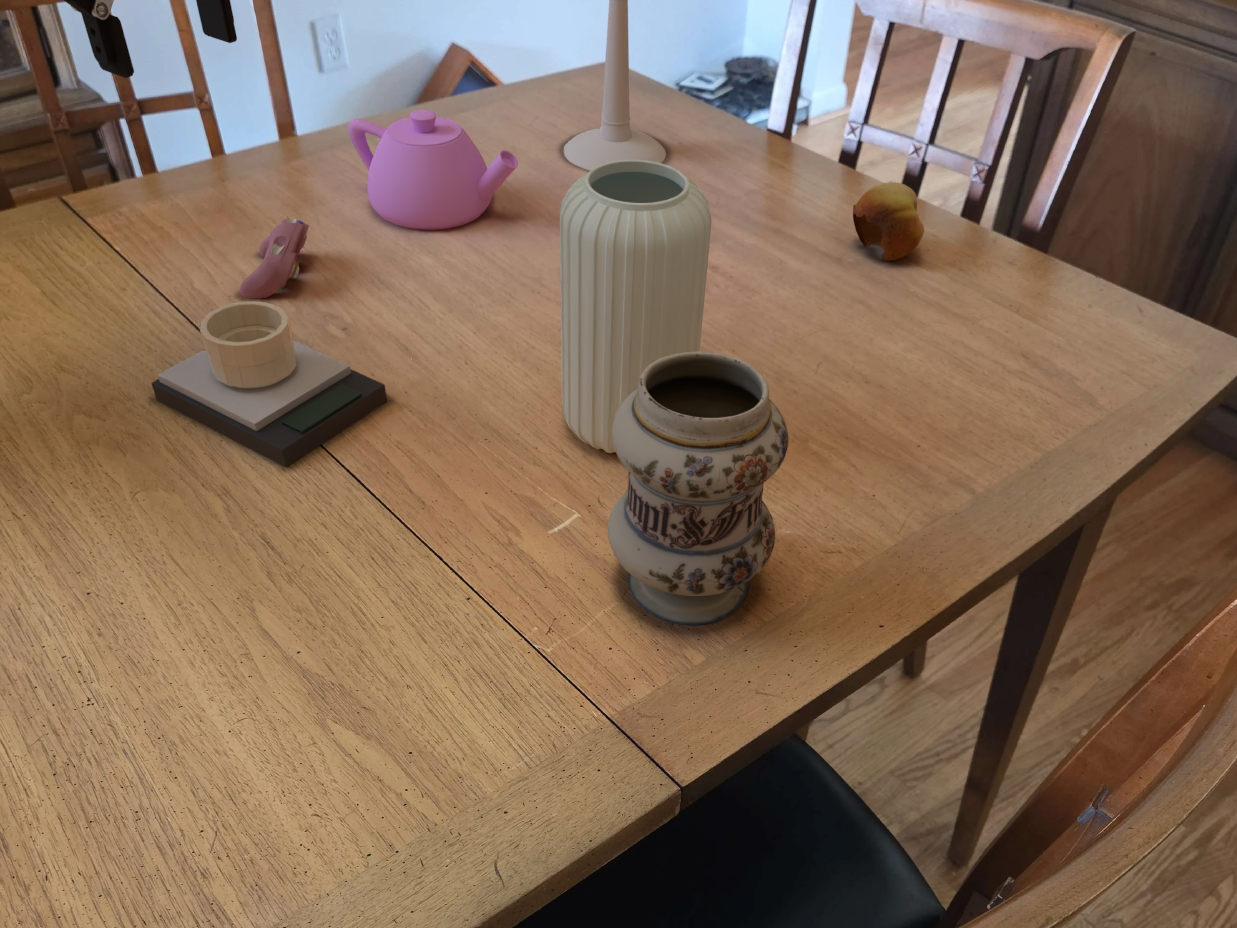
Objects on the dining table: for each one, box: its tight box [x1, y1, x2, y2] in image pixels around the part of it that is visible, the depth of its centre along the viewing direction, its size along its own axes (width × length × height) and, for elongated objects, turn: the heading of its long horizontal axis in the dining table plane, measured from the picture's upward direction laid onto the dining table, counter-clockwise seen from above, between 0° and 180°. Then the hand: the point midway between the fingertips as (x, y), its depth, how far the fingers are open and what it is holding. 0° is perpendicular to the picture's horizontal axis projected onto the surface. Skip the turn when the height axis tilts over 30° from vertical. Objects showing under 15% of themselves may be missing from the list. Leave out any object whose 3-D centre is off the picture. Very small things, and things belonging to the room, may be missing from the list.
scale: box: [151, 339, 388, 468], centre depth 96 cm, size 16×12×3 cm
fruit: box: [852, 181, 925, 262], centre depth 119 cm, size 8×8×8 cm
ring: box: [199, 300, 297, 389], centre depth 94 cm, size 7×7×5 cm
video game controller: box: [239, 216, 310, 300], centre depth 111 cm, size 10×5×7 cm, turn 0°
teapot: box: [347, 109, 519, 231], centre depth 121 cm, size 14×20×11 cm
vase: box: [559, 160, 712, 454], centre depth 89 cm, size 12×12×22 cm
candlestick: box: [563, 0, 667, 172], centre depth 126 cm, size 13×13×30 cm
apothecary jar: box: [607, 351, 789, 627], centre depth 77 cm, size 12×12×18 cm
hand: (171, 55), depth 84 cm, fingers open, 9 cm apart
